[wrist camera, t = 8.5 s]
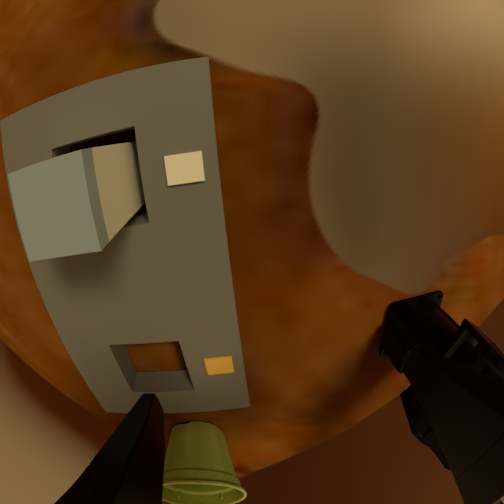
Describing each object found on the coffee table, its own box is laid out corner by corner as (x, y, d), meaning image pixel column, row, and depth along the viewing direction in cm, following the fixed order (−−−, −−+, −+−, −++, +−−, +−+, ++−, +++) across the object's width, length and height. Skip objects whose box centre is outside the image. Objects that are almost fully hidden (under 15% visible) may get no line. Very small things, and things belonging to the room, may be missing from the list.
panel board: (209, 67, 15) (208, 55, 12) (247, 386, 25) (250, 408, 23) (20, 119, 13) (-2, 120, 11) (110, 393, 24) (105, 413, 21)
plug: (136, 141, 16) (81, 149, 9) (145, 202, 17) (101, 251, 10) (81, 154, 15) (7, 174, 8) (91, 211, 17) (29, 261, 10)
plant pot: (166, 402, 25) (160, 477, 17) (251, 420, 28) (262, 487, 20) (150, 440, 28) (145, 499, 20) (222, 453, 30) (227, 509, 23)
